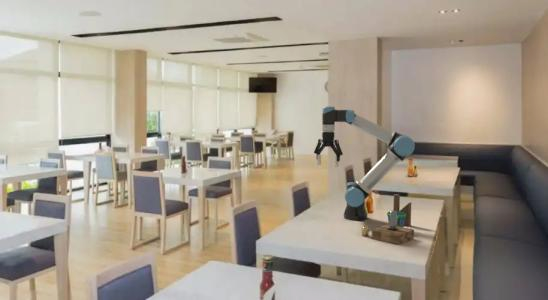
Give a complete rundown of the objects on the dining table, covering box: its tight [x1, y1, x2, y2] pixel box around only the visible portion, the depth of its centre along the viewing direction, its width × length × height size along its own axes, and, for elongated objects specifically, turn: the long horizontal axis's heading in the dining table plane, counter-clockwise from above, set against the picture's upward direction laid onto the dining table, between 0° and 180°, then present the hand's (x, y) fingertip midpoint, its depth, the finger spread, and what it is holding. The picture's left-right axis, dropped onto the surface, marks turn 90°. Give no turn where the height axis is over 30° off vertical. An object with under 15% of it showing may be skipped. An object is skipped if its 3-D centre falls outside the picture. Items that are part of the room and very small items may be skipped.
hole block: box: [371, 224, 415, 246], centre depth 240 cm, size 16×16×5 cm
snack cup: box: [386, 211, 406, 228], centre depth 257 cm, size 16×10×10 cm
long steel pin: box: [389, 210, 397, 231], centre depth 240 cm, size 4×4×15 cm
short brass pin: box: [361, 225, 370, 237], centre depth 246 cm, size 4×4×5 cm
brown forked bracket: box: [392, 193, 412, 227], centre depth 272 cm, size 4×11×18 cm, turn 49°
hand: (327, 165), depth 278 cm, fingers open, 13 cm apart
